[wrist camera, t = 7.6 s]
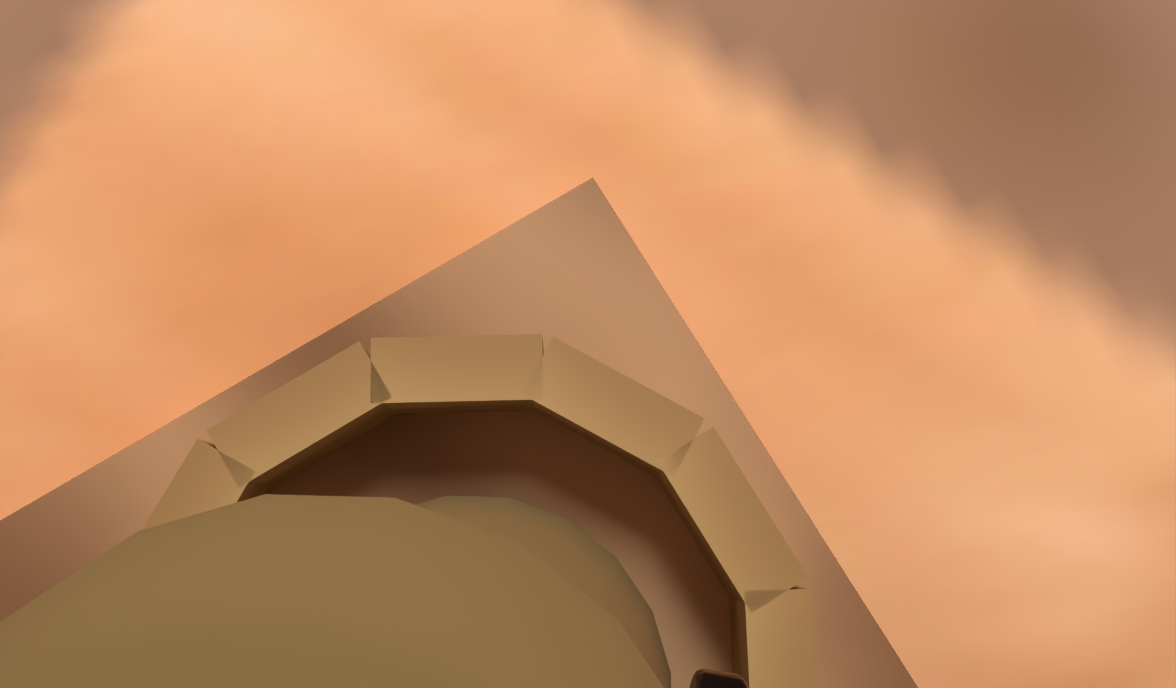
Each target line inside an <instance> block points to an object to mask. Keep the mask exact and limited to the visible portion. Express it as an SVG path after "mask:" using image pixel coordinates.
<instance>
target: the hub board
mask: <svg viewBox="0 0 1176 688" xmlns="http://www.w3.org/2000/svg"><path fill="white" fill-rule="evenodd" d="M264 494H276V495H313V496H351V497H388V498H397V499H400V500H403V501H406V502H409V503H411V504H414V505H416V504H419V503H422V502H426V501H429V500H432V499H436V498H439V497H443V496H480V497H509V498H511V499H514V500H517V501H520V502H523V503H525V504H528V505H531V506H534V507H536V508H539V509H542V510H545V511H548V512H550V513H553V514H556V515H559V516H561V517H564V518H567V519H568V520H569V521H571V522H572V523H573V524H574V525H576V526H577V527H578V528H580V529H581V530H582V531H583V532H585V533H586V534H587V535H589V536H590V537H591V538H592V539H594V540H595V541H596V542H597V543H599V544H600V545H601V546H603V547H604V548H605V549H606V550H608V551H609V552H610V553H612V554H613V555H614V556H615V557H616V558H617V559H618V561H619V562H620V563H621V565H622V566H623V568H624V569H625V571H626V572H627V574H628V575H629V577H630V578H631V580H632V581H633V583H634V584H635V586H636V587H637V589H638V590H639V592H640V593H641V594H642V596H643V597H644V599H645V600H646V602H647V603H648V605H649V606H650V608H651V609H652V611H653V614H654V618H655V621H656V625H657V628H658V631H659V635H660V638H661V641H662V645H663V648H664V651H665V655H666V658H667V661H668V665H669V668H670V671H671V688H690V684H691V680H692V677H693V675H694V673H695V672H696V671H697V670H699V669H709V670H715V671H722V672H729V673H735V674H738V675H740V676H741V677H742V678H743V679H744V680H745V681H746V683H747V685H748V687H749V688H918V687H917V685H916V684H915V682H914V681H913V679H912V678H911V676H910V674H909V673H908V671H907V670H906V668H905V667H904V665H903V663H902V662H901V660H900V659H899V657H898V656H897V654H896V652H895V651H894V649H893V648H892V646H891V645H890V643H889V641H888V640H887V638H886V637H885V635H884V634H883V632H882V630H881V629H880V627H879V626H878V624H877V623H876V621H875V619H874V618H873V616H872V615H871V613H870V612H869V610H868V609H867V607H866V605H865V604H864V602H863V601H862V599H861V598H860V596H859V594H858V593H857V591H856V590H855V588H854V587H853V585H852V583H851V582H850V580H849V579H848V577H847V576H846V574H845V572H844V571H843V569H842V568H841V566H840V565H839V563H838V561H837V560H836V558H835V557H834V555H833V554H832V552H831V550H830V549H829V547H828V546H827V544H826V543H825V541H824V539H823V538H822V536H821V535H820V533H819V532H818V530H817V528H816V527H815V525H814V524H813V522H812V521H811V519H810V518H809V516H808V514H807V513H806V511H805V510H804V508H803V507H802V505H801V503H800V502H799V500H798V499H797V497H796V496H795V494H794V492H793V491H792V489H791V488H790V486H789V485H788V483H787V481H786V480H785V478H784V477H783V475H782V474H781V472H780V470H779V469H778V467H777V466H776V464H775V463H774V461H773V459H772V458H771V456H770V455H769V453H768V452H767V450H766V448H765V447H764V445H763V444H762V442H761V441H760V439H759V437H758V436H757V434H756V433H755V431H754V430H753V428H752V426H751V425H750V423H749V422H748V420H747V419H746V417H745V416H744V414H743V412H742V411H741V409H740V408H739V406H738V405H737V403H736V401H735V400H734V398H733V397H732V395H731V394H730V392H729V390H728V389H727V387H726V386H725V384H724V383H723V381H722V379H721V378H720V376H719V375H718V373H717V372H716V370H715V368H714V367H713V365H712V364H711V362H710V361H709V359H708V357H707V356H706V354H705V353H704V351H703V350H702V348H701V346H700V345H699V343H698V342H697V340H696V339H695V337H694V335H693V334H692V332H691V331H690V329H689V328H688V326H687V324H686V323H685V321H684V320H683V318H682V317H681V315H680V314H679V312H678V310H677V309H676V307H675V306H674V304H673V303H672V301H671V299H670V298H669V296H668V295H667V293H666V292H665V290H664V288H663V287H662V285H661V284H660V282H659V281H658V279H657V277H656V276H655V274H654V273H653V271H652V270H651V268H650V266H649V265H648V263H647V262H646V260H645V259H644V257H643V255H642V254H641V252H640V251H639V249H638V248H637V246H636V244H635V243H634V241H633V240H632V238H631V237H630V235H629V233H628V232H627V230H626V229H625V227H624V226H623V224H622V222H621V221H620V219H619V218H618V216H617V215H616V213H615V212H614V210H613V208H612V207H611V205H610V204H609V202H608V201H607V199H606V197H605V196H604V194H603V193H602V191H601V190H600V188H599V186H598V185H597V183H596V182H595V180H594V179H593V178H591V179H590V180H588V181H586V182H584V183H583V184H581V185H579V186H577V187H576V188H574V189H572V190H571V191H569V192H567V193H565V194H564V195H562V196H560V197H558V198H557V199H555V200H553V201H552V202H550V203H548V204H546V205H545V206H543V207H541V208H539V209H538V210H536V211H534V212H533V213H531V214H529V215H527V216H526V217H524V218H522V219H520V220H519V221H517V222H515V223H514V224H512V225H510V226H508V227H507V228H505V229H503V230H501V231H500V232H498V233H496V234H495V235H493V236H491V237H489V238H488V239H486V240H484V241H482V242H481V243H479V244H477V245H476V246H474V247H472V248H470V249H469V250H467V251H465V252H463V253H462V254H460V255H458V256H457V257H455V258H453V259H451V260H450V261H448V262H446V263H444V264H443V265H441V266H439V267H438V268H436V269H434V270H432V271H431V272H429V273H427V274H425V275H424V276H422V277H420V278H419V279H417V280H415V281H413V282H412V283H410V284H408V285H406V286H405V287H403V288H401V289H400V290H398V291H396V292H394V293H393V294H391V295H389V296H387V297H386V298H384V299H382V300H381V301H379V302H377V303H375V304H374V305H372V306H370V307H368V308H367V309H365V310H363V311H362V312H360V313H358V314H356V315H355V316H353V317H351V318H349V319H348V320H346V321H344V322H343V323H341V324H339V325H337V326H336V327H334V328H332V329H330V330H329V331H327V332H325V333H324V334H322V335H320V336H318V337H317V338H315V339H313V340H311V341H310V342H308V343H306V344H305V345H303V346H301V347H299V348H298V349H296V350H294V351H292V352H291V353H289V354H287V355H286V356H284V357H282V358H280V359H279V360H277V361H275V362H273V363H272V364H270V365H268V366H267V367H265V368H263V369H261V370H260V371H258V372H256V373H254V374H253V375H251V376H249V377H248V378H246V379H244V380H242V381H241V382H239V383H237V384H236V385H234V386H232V387H230V388H229V389H227V390H225V391H223V392H222V393H220V394H218V395H217V396H215V397H213V398H211V399H210V400H208V401H206V402H204V403H203V404H201V405H199V406H198V407H196V408H194V409H192V410H191V411H189V412H187V413H185V414H184V415H182V416H180V417H179V418H177V419H175V420H173V421H172V422H170V423H168V424H166V425H165V426H163V427H161V428H160V429H158V430H156V431H154V432H153V433H151V434H149V435H147V436H146V437H144V438H142V439H141V440H139V441H137V442H135V443H134V444H132V445H130V446H128V447H127V448H125V449H123V450H122V451H120V452H118V453H116V454H115V455H113V456H111V457H109V458H108V459H106V460H104V461H103V462H101V463H99V464H97V465H96V466H94V467H92V468H90V469H89V470H87V471H85V472H84V473H82V474H80V475H78V476H77V477H75V478H73V479H71V480H70V481H68V482H66V483H65V484H63V485H61V486H59V487H58V488H56V489H54V490H52V491H51V492H49V493H47V494H46V495H44V496H42V497H40V498H39V499H37V500H35V501H33V502H32V503H30V504H28V505H27V506H25V507H23V508H21V509H20V510H18V511H16V512H14V513H13V514H11V515H9V516H8V517H6V518H4V519H2V520H1V521H0V621H2V620H3V619H5V618H6V617H8V616H9V615H11V614H12V613H14V612H15V611H17V610H18V609H20V608H21V607H23V606H25V605H26V604H28V603H29V602H31V601H32V600H34V599H35V598H37V597H38V596H40V595H41V594H43V593H44V592H46V591H47V590H49V589H50V588H52V587H53V586H55V585H56V584H58V583H59V582H61V581H62V580H64V579H65V578H67V577H69V576H70V575H72V574H73V573H75V572H76V571H78V570H79V569H81V568H82V567H84V566H85V565H87V564H88V563H90V562H91V561H93V560H94V559H96V558H97V557H99V556H100V555H102V554H103V553H105V552H106V551H108V550H110V549H111V548H113V547H114V546H116V545H117V544H119V543H120V542H122V541H123V540H125V539H127V538H128V537H130V536H131V535H133V534H134V533H136V532H138V531H141V530H144V529H148V528H151V527H155V526H158V525H162V524H165V523H168V522H172V521H175V520H179V519H182V518H185V517H189V516H192V515H196V514H199V513H203V512H206V511H209V510H213V509H216V508H220V507H223V506H226V505H230V504H233V503H237V502H240V501H244V500H247V499H250V498H254V497H257V496H261V495H264Z"/></svg>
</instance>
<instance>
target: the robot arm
mask: <svg viewBox="0 0 1176 688" xmlns="http://www.w3.org/2000/svg"><path fill="white" fill-rule="evenodd" d="M690 688H749V687H748V685H747V683H746V681H745V680H744V679H743V678H742V677H741V676H740V675H738V674H735V673H729V672H722V671H715V670H709V669H699V670H697V671H696V672H695V673H694V675H693V677H692V680H691V684H690Z"/></svg>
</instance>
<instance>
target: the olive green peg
mask: <svg viewBox="0 0 1176 688" xmlns="http://www.w3.org/2000/svg"><path fill="white" fill-rule="evenodd" d="M0 688H671V671H670V668H669V665H668V661H667V658H666V655H665V651H664V648H663V645H662V641H661V638H660V635H659V631H658V628H657V625H656V621H655V618H654V614H653V611H652V609H651V608H650V606H649V605H648V603H647V602H646V600H645V599H644V597H643V596H642V594H641V593H640V592H639V590H638V589H637V587H636V586H635V584H634V583H633V581H632V580H631V578H630V577H629V575H628V574H627V572H626V571H625V569H624V568H623V566H622V565H621V563H620V562H619V561H618V559H617V558H616V557H615V556H614V555H613V554H612V553H610V552H609V551H608V550H606V549H605V548H604V547H603V546H601V545H600V544H599V543H597V542H596V541H595V540H594V539H592V538H591V537H590V536H589V535H587V534H586V533H585V532H583V531H582V530H581V529H580V528H578V527H577V526H576V525H574V524H573V523H572V522H571V521H569V520H568V519H567V518H564V517H561V516H559V515H556V514H553V513H550V512H548V511H545V510H542V509H539V508H536V507H534V506H531V505H528V504H525V503H523V502H520V501H517V500H514V499H511V498H509V497H480V496H443V497H439V498H436V499H432V500H429V501H426V502H422V503H419V504H416V505H414V504H411V503H409V502H406V501H403V500H400V499H397V498H388V497H351V496H313V495H276V494H264V495H261V496H257V497H254V498H250V499H247V500H244V501H240V502H237V503H233V504H230V505H226V506H223V507H220V508H216V509H213V510H209V511H206V512H203V513H199V514H196V515H192V516H189V517H185V518H182V519H179V520H175V521H172V522H168V523H165V524H162V525H158V526H155V527H151V528H148V529H144V530H141V531H138V532H136V533H134V534H133V535H131V536H130V537H128V538H127V539H125V540H123V541H122V542H120V543H119V544H117V545H116V546H114V547H113V548H111V549H110V550H108V551H106V552H105V553H103V554H102V555H100V556H99V557H97V558H96V559H94V560H93V561H91V562H90V563H88V564H87V565H85V566H84V567H82V568H81V569H79V570H78V571H76V572H75V573H73V574H72V575H70V576H69V577H67V578H65V579H64V580H62V581H61V582H59V583H58V584H56V585H55V586H53V587H52V588H50V589H49V590H47V591H46V592H44V593H43V594H41V595H40V596H38V597H37V598H35V599H34V600H32V601H31V602H29V603H28V604H26V605H25V606H23V607H21V608H20V609H18V610H17V611H15V612H14V613H12V614H11V615H9V616H8V617H6V618H5V619H3V620H2V621H0Z"/></svg>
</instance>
